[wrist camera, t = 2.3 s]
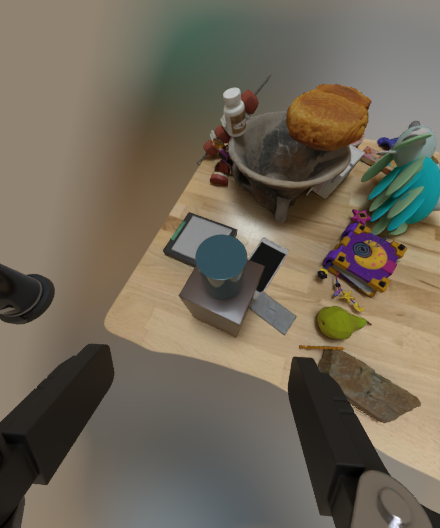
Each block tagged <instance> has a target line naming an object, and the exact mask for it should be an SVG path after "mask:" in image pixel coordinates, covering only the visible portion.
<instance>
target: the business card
mask: <svg viewBox="0 0 440 528" xmlns="http://www.w3.org/2000/svg"><path fill="white" fill-rule="evenodd" d="M250 309H251V310H253V311H254V312H255V313H256V314H258V315H259V316H260V317H262V318H263V319H264V320H266V321H267V322H268V323H269V324H271V325H272V326H273V327H275V328H276V329H277V330H279V331H280V332H281V333H282V334H284V335H285V334H286V332H287V331H288V329H289V328H290V326H291V325H292V323H293V322H294V320H295V319H296V317H297V316H295V315H294V314H293V313H291V312H290V311H288V310H287V309H286V308H284V307H283V306H281V305H280V304H279V303H278V302H276V301H275V300H273V299H272V298H271V297H270V296H268V295H267V294H265V293H264V292H263V291H262V292H261V293H260V294H259V296H258V297H257V298H256V300H255V301H254V302H253V304H252V305H251V306H250Z"/></svg>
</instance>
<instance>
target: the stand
mask: <svg viewBox="0 0 440 528" xmlns="http://www.w3.org/2000/svg"><path fill="white" fill-rule="evenodd" d="M264 267H265V266H263V265H260V264H258V263H255V262H253V261H250V260H248V259H247V262H246V268H245V274H244V279H243V285H242V288H241V290H240V292H239V293H238V294H237V295H236V296H234V297H233V298H230V299H227V300H218V299H215V298H213V297H211V296H210V295H209V294H207V292H206V291H205V289H204V287H203V284H202V280H201V277H200V274H199V271H198V268H197V265H196V267H195V269H194V270H193V272H192V274H191V275H190V277H189V279H188V281H187V282H186V284H185V286H184V288H183V289H182V291H181V293H180V294H179V297H180V298H181V300H182V301H183V302H184V304H185V305H186V307H187V308H188V309H189V311H190V312H191V314H192V315H193V316H194V317H195V318H197V319H199V320H201V321H203V322H205V323H208V324H210V325H212V326H214V327H216V328H218V329H220V330H222V331H224V332H226V333H228V334H230V335H232V336H234V337H237V335H238V332H239V330H240V327H241V325H242V323H243V320H244V318H245V315H246V313H247V311H248V308H249V306H250V303H251V301H252V299H253V296H254V294H255V291H256V288H257V286H258V283H259V280H260V277H261V275H262V272H263V269H264Z"/></svg>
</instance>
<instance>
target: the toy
mask: <svg viewBox="0 0 440 528" xmlns="http://www.w3.org/2000/svg"><path fill="white" fill-rule="evenodd" d="M363 152H364V153H365V154H364V155H363V156H362V157H361V159H360V160H362V161H364V162H365V163H367V164H369V165H371V166H372V165H373V164H374V163H375V162H377V161H378V160H379V159H380V158H381V157H383V156H380V155H377V154H376V153H378V151H376V150H374V149H372V148H370V147H368V146H367V147H366V148H365V149H364V150H363ZM396 167H397V165H396V163H395V162H394V159H393V160H392V161H391V163H389V164H388V165H387V166H386V167H385V168H384V169H383V170H382V171H383V172H385V173H386V174H388V173H389V172H391V171H392V170H393V169H394V168H396Z"/></svg>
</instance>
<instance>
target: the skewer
mask: <svg viewBox="0 0 440 528" xmlns="http://www.w3.org/2000/svg"><path fill="white" fill-rule="evenodd" d="M270 76H271V75H270ZM270 76H269V77H268V78H266V80H265V81H264V82H263V83H262V84H261V86H260V87H259V88H258V89H257V91H256V92H255V93H253V92H252V91H250V90H247V91H245V92H244V93H243V94H242V95H241V101H243V103H244V107H245V116H246V121H248V120H250V119H251V118H252V117H251V116H250V114H253V113H254V112H255V110H256V108H257V106H258V104H259V103H258V99H257V97H256V95H257V93H258V92H259V91H260V90H261V88H262V87H263V86H264V84H266V82H267V81H268V80H269V78H270ZM222 117H223V119H222V118H221V122H222V125H223V126H221V125H220V126H218V127H217V128H216V130H215V134H216V135H215V134H214V131H212V133H211V134H210V136H211V139H212V141H211V140H209V141H207V142H206V143H205V144H204V150H205V151H206V154H205V155H204V156H203V158H202V159H201V160H198V161H197V165H199V166H200V164H198V162H201V163H202V160H203V159H204V158H205V157H206V156H207V154H209V155H210V156H213V157H215V156H216V154H217V152H218V150H217V149H216V148H215V147H214V146H213V145H212V143H213V139H214V138H215V139H218V138H219V139H221V143H222V144H223V145H224V143H227V142H228V141H229V140H230V135H229V134H228V131H227V126H226V125H225V124H226V121H225V116H224V115H223V116H222ZM223 120H224V121H223ZM224 122H225V123H224ZM212 134H213V135H212ZM216 136H217V137H216Z"/></svg>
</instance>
